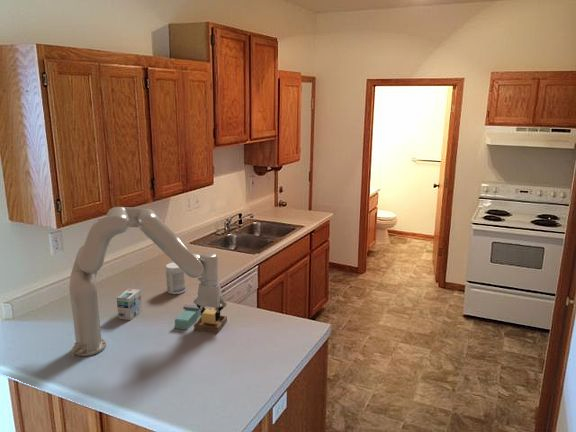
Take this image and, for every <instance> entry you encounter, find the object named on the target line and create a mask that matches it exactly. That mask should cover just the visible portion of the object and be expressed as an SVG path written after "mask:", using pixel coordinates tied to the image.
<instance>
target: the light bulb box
mask: <svg viewBox="0 0 576 432" xmlns="http://www.w3.org/2000/svg"><path fill="white" fill-rule="evenodd" d="M142 304H143V303H142V292H141V289H135V288H133V289H132V288H127V289H126V290H124V291H123V292H122V293H120V295H118V296H117V297H116V305H117V317H118V319H120V320H128V321H132V320H133V319H134V318H136V316H137V315H139V314H140V313H141V312H142V311H143V305H142Z"/></svg>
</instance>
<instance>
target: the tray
mask: <svg viewBox="0 0 576 432" xmlns="http://www.w3.org/2000/svg"><path fill="white" fill-rule="evenodd" d="M227 322H228V316H227V315H220V318H219V319H218V321H216V323H215V324H210V323H203V322H202V319H201V316H199V318H198V319H197V320H196V321H195V322H194V323H193V330H194V331H200V332H208V333H216V334H219V333H220V331H221V330H222V329H223V327H224V326H225V324H227Z"/></svg>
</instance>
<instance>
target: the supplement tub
mask: <svg viewBox="0 0 576 432" xmlns="http://www.w3.org/2000/svg"><path fill="white" fill-rule="evenodd" d="M165 276H166V291H167V293H168V294H170V295H180V294H183V293H184V292H186V290H187V287H186V284H187V283H186V273H185V272H184V271H183V270H182V269H180V268H179V267H178V266H177V265H176V264H175V263H174V262H173V261H172V262H169V263H168V264H166V265H165Z"/></svg>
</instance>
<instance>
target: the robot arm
mask: <svg viewBox="0 0 576 432" xmlns="http://www.w3.org/2000/svg"><path fill="white" fill-rule="evenodd" d="M105 215H106V216H104V217H102V218H100V219H99V220H97V221H95V222H94V224H93V225H92V226H91V227H90V229H89V230H88V233H87V236H86V238H85V241H84V244H83V245H81V247H79V249H78V251H77V253H76V257H75V258H74V259H75V260H74V263H73V266H72V269H71V272H70V277H69V297H70V298H69V299H70V303H71V313H72V323H73V331H74V339H75V343H73V344H74V345H73V346H72V348H71V350H69V351H68V354H69V355H70V356H74V355H75V356H79V357H90V356H93V355H96V354H99V353H100V352H101V353H102V351H103V350H105V348H106V347H107V342H106V341H105V340H104V339H102V333H101V332H102V331H101V323H100V310H99V301H98V300H99V299H98V287H97V281H96V280H97V279H96V277H97V274H98V272H99V271H100V270H101V269H102V268H103V265H104V262H105V257H106V256H107V255H106V254H107V250H108V248H109V245H110V243H111V241H112V239H113V238H114V237H115V236H117V235H120V234H124V233H125V232H127V230H129V228H139V230H140V231H141V232H142V233H143V234H144V235H146V237H147V238H149V240H151V242H152V243H153V244H155V245H156V246H157V247H158V248H159V249H160V250H161V251H162V252H163V253H164V254H165V255H166V256H167V257H168V258H169V259H170V260H171V262H172V263H173V262H174V263H175V264H176V265H177V266H178V267H179V268H180V269H182V270H183V271H184V272H185V275H187V276H188V277H189V278H194V279H195V278H197V281H199V283H198V288H197V297H196V298H195V299H194V300H193V304H194V305H197V307H198V308H199V310H200V311H201V314H202V313H203V312H204V311H205V310H206V309H207V308H212V309H216V313H215V315H216V321H218V319H219V318H220V316H221V311H222V310H223V309H224V308H226V307H227V306H228V303H227V302H226V301H225V300H224V299H223V294H222V289H221V284H220V283H219V260H218V259H219V257H218V255H217V254H216V253H214V252H205V253H192V252H191V251H190V250H189V249H188V248H187V246H185V244H184V243H183V242H182V240H181V239H180V237H179V236H178V235H177V234H176V233H175V232H174V231H173V230H172V229H171V228H170V227H169V226H168V225H167V224H166V223H165V222H164V221H163V220H162V219H161V218H159V216H158V215H157V214H156V212H155V211H154V210H153V209H150V208H145V207H129V206H126V207H125V206H114V207H112V208H110V209H109V210H108V211H107V213H106V214H105ZM206 307H207V308H206Z"/></svg>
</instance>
